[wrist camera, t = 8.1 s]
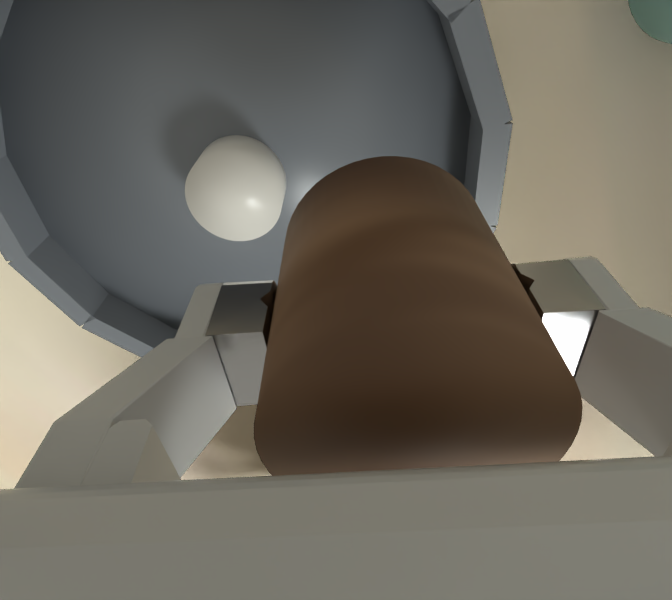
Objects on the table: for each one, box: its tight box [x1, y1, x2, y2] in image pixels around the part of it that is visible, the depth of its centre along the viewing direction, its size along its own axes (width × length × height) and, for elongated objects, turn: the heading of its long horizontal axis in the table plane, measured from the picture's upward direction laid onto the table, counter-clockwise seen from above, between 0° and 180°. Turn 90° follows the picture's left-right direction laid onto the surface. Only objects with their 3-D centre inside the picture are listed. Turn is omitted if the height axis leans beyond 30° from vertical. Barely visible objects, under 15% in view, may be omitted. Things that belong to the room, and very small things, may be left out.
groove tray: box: [0, 0, 513, 357], centre depth 15 cm, size 17×17×2 cm
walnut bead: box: [254, 156, 582, 476], centre depth 8 cm, size 4×4×5 cm
